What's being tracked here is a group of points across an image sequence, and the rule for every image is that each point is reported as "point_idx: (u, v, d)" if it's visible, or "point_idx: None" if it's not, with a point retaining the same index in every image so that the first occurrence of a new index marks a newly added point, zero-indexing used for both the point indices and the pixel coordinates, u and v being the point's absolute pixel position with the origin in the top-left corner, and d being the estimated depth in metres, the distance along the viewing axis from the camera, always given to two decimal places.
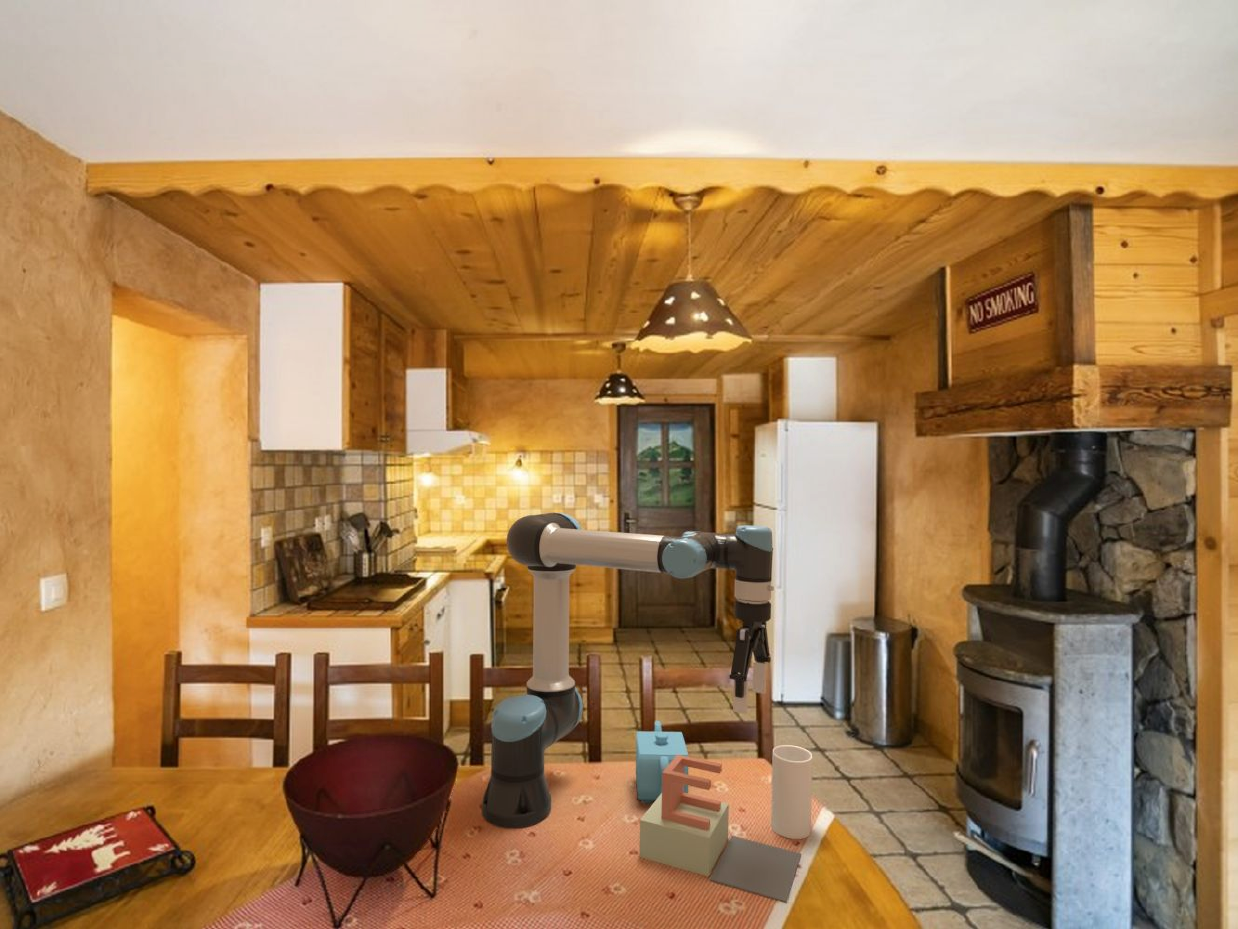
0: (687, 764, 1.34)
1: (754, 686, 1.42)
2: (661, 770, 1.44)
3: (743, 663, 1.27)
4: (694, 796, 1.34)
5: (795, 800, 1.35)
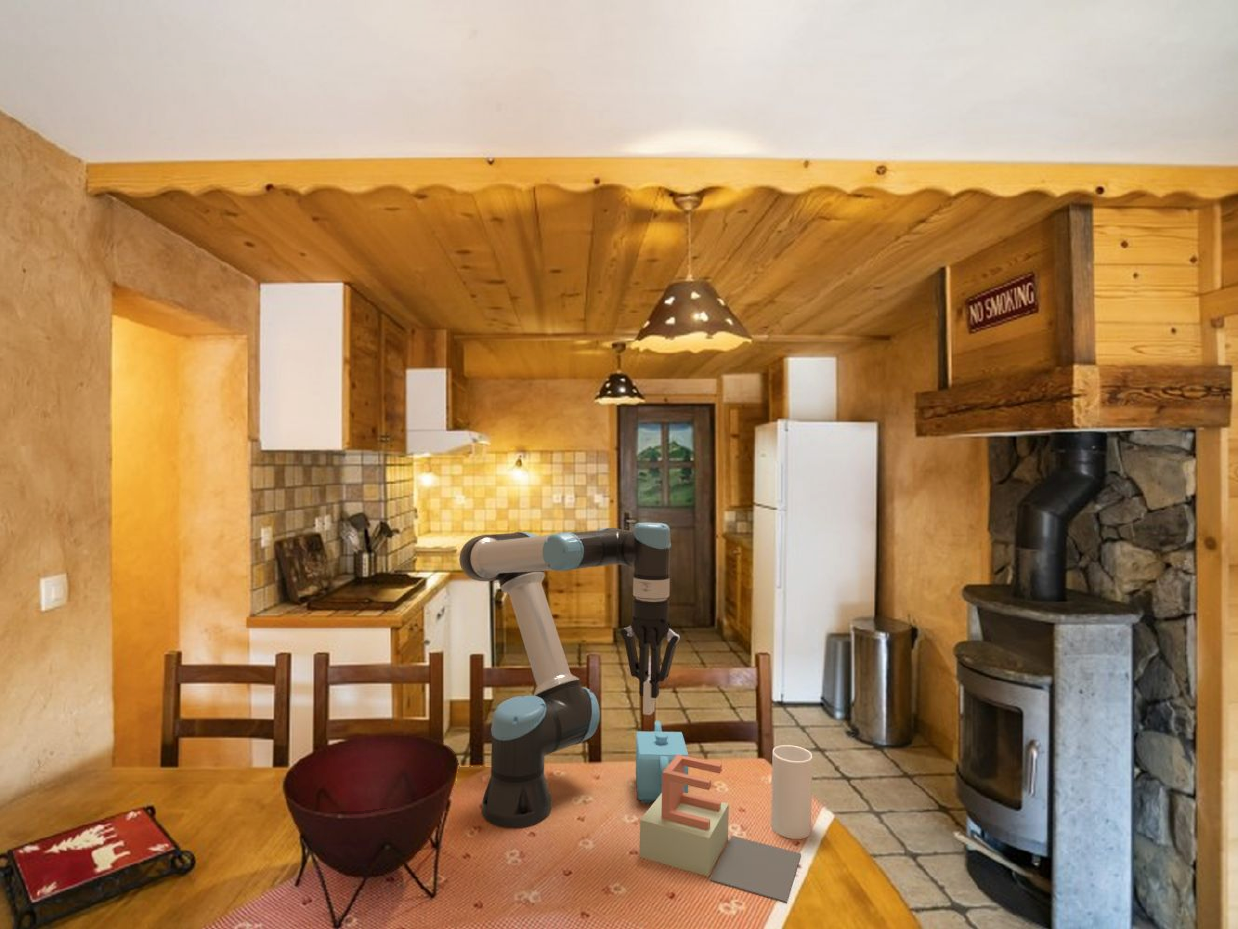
0: (687, 764, 1.34)
1: None
2: (661, 770, 1.44)
3: None
4: (694, 796, 1.34)
5: (795, 800, 1.35)
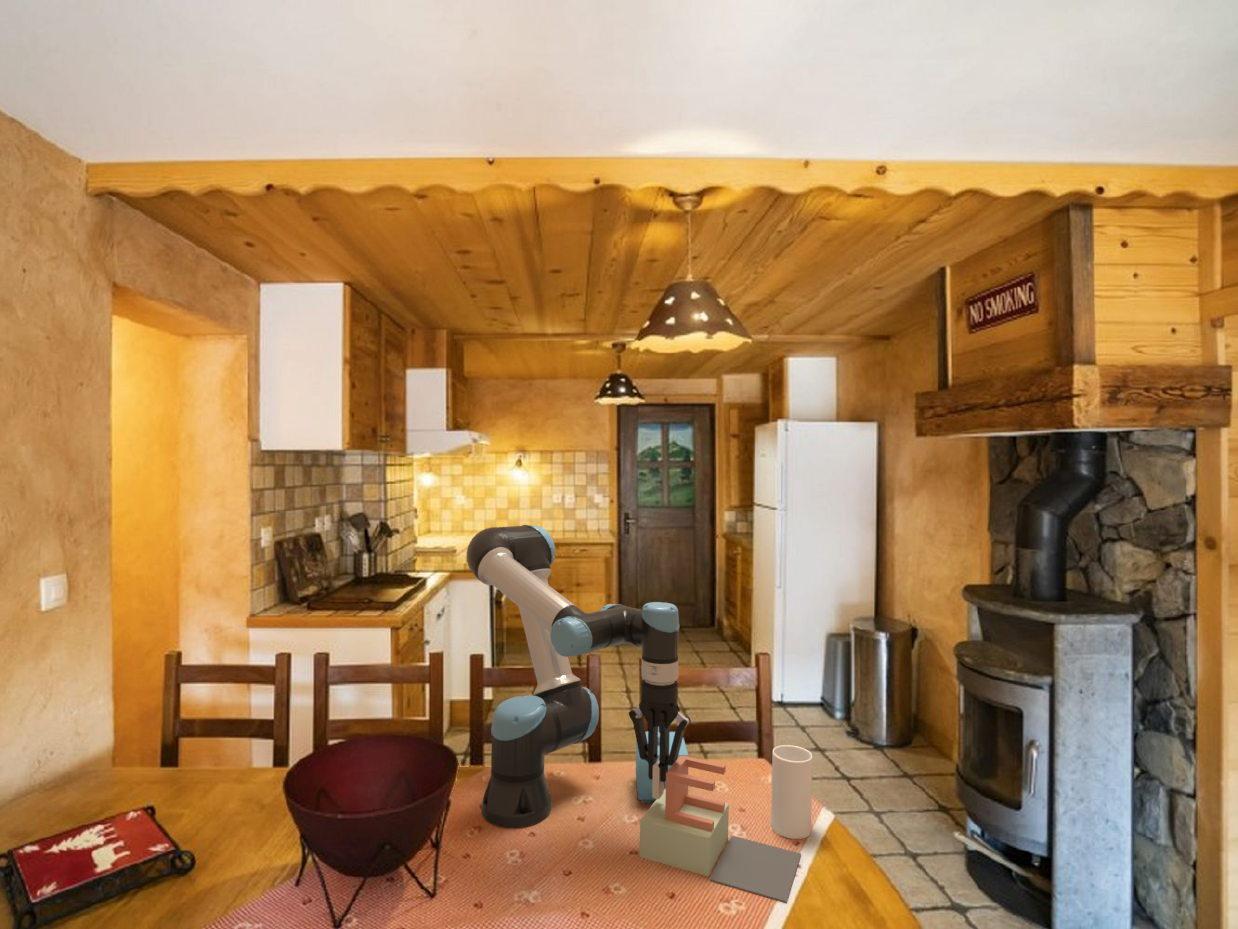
0: (691, 765, 1.34)
1: None
2: None
3: None
4: (698, 797, 1.34)
5: (795, 800, 1.35)
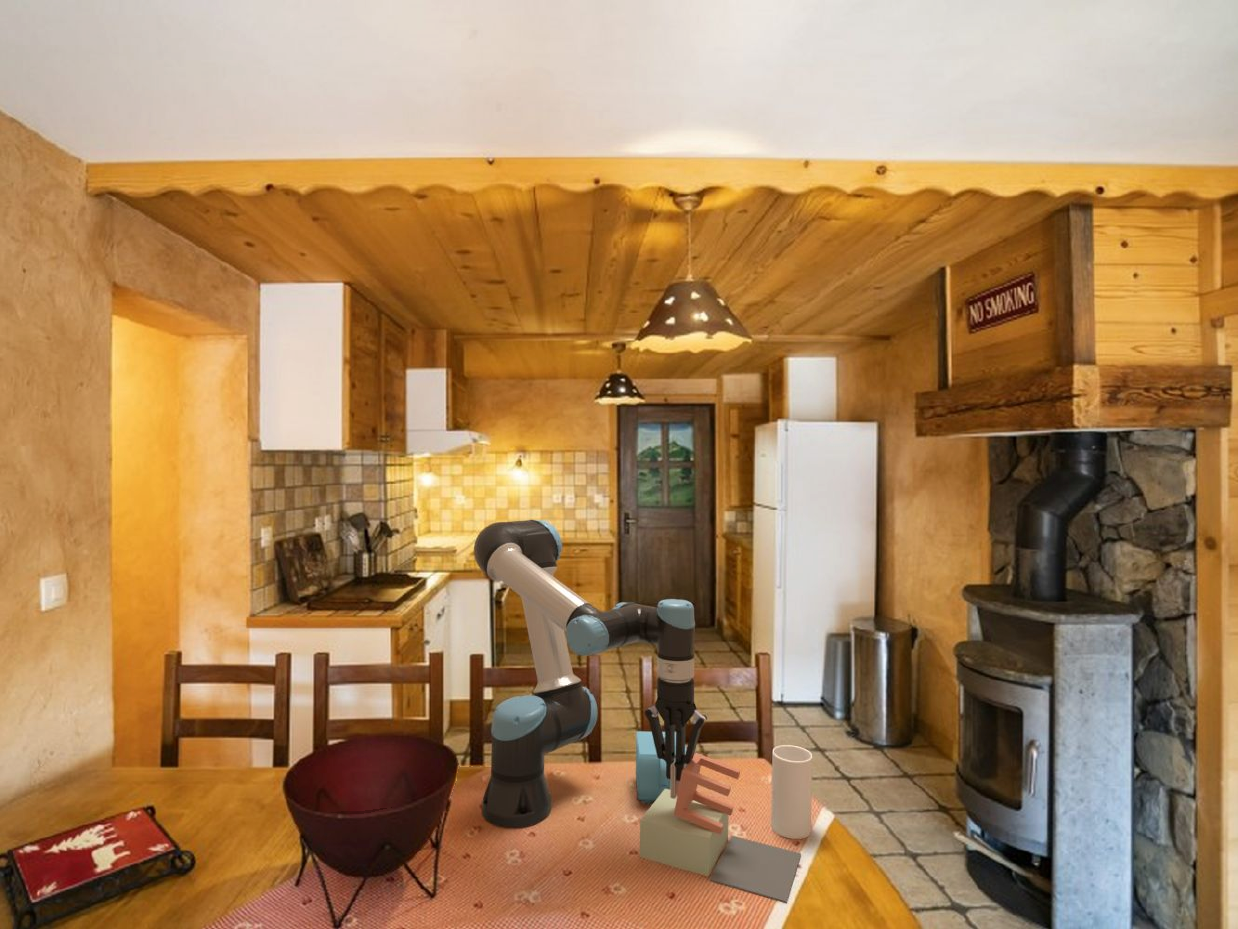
0: (705, 764, 1.32)
1: None
2: (661, 770, 1.44)
3: None
4: (707, 796, 1.33)
5: (795, 800, 1.35)
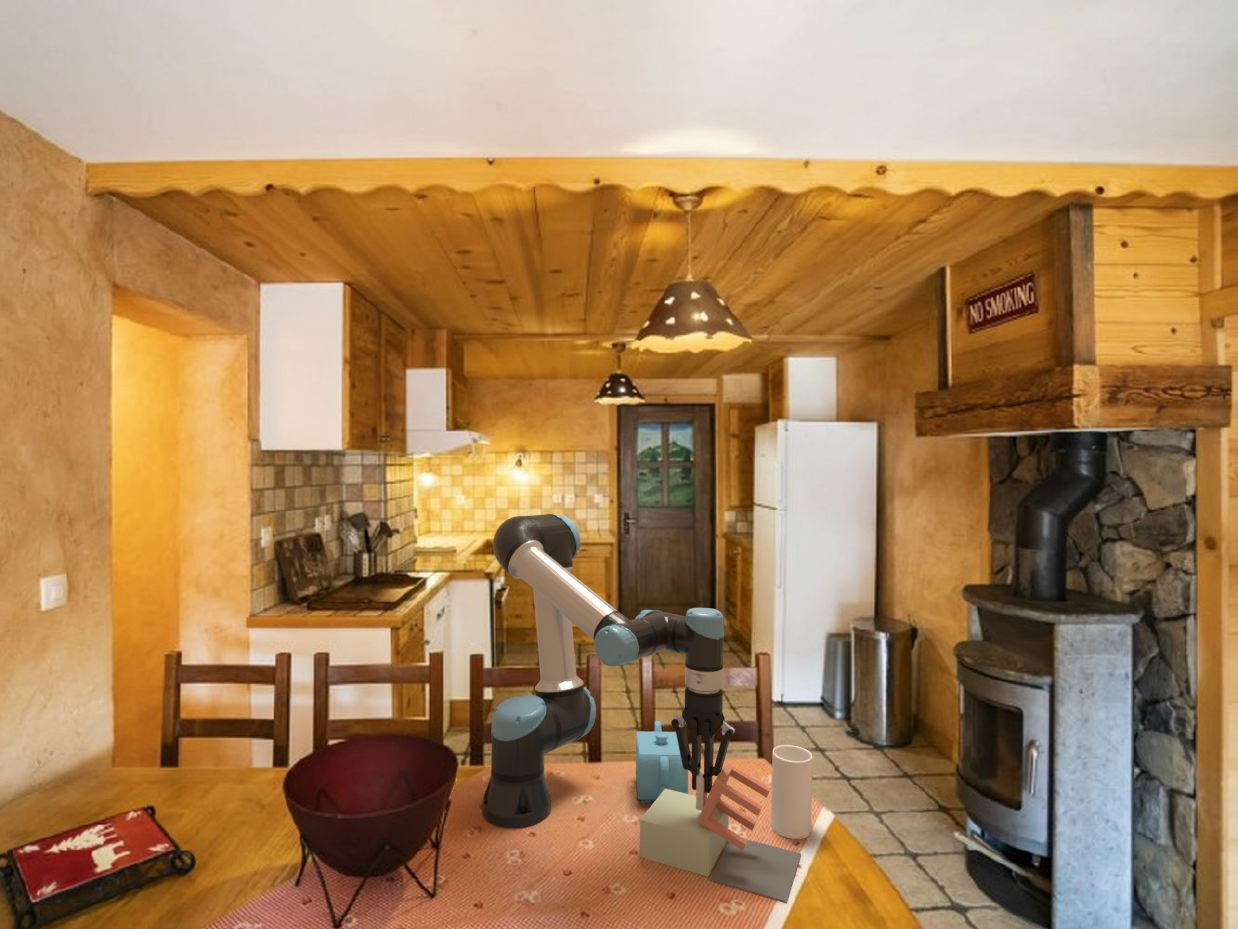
0: (735, 776, 1.30)
1: None
2: (661, 770, 1.44)
3: None
4: (730, 806, 1.31)
5: (795, 800, 1.35)
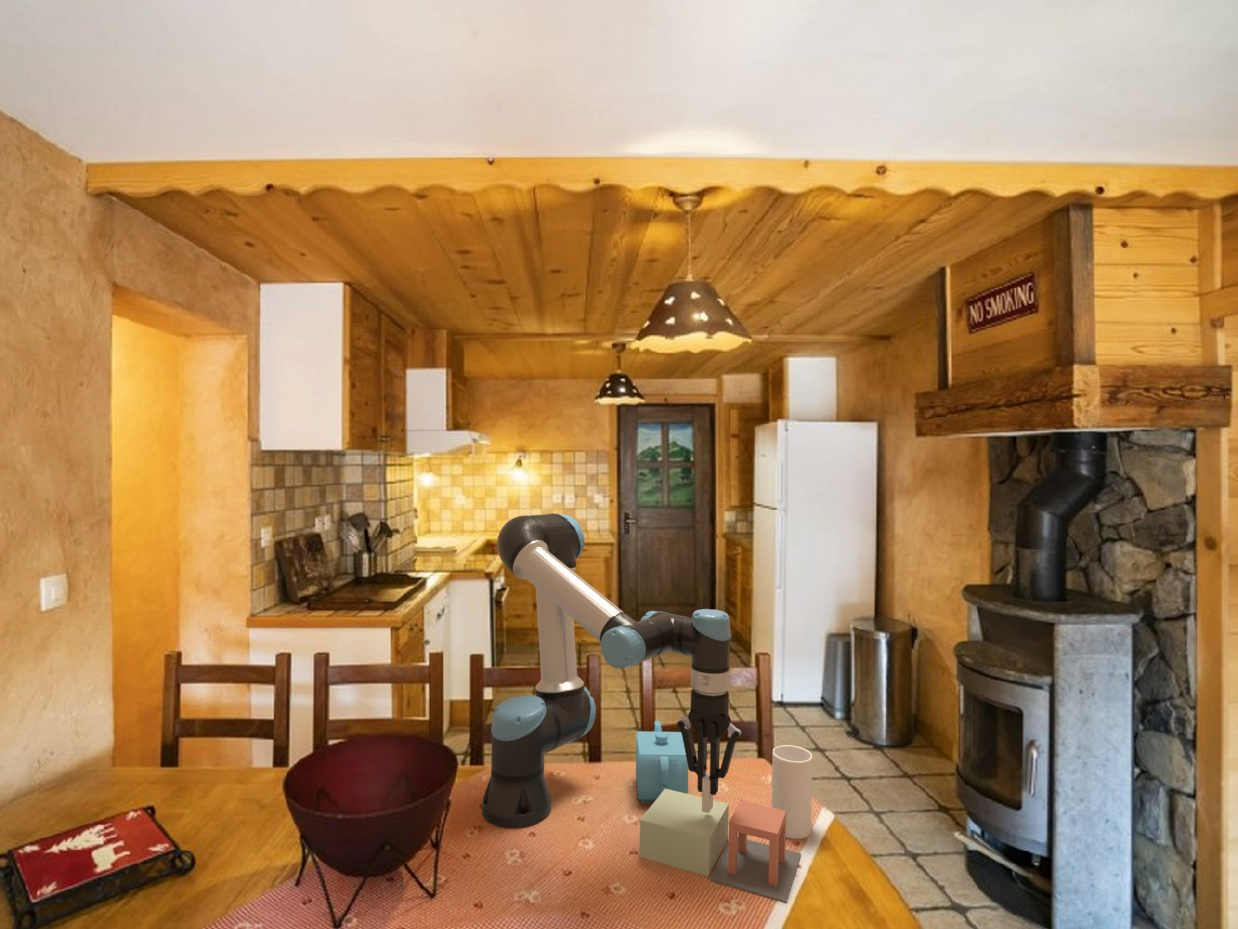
0: None
1: None
2: (661, 770, 1.44)
3: None
4: None
5: (795, 800, 1.35)
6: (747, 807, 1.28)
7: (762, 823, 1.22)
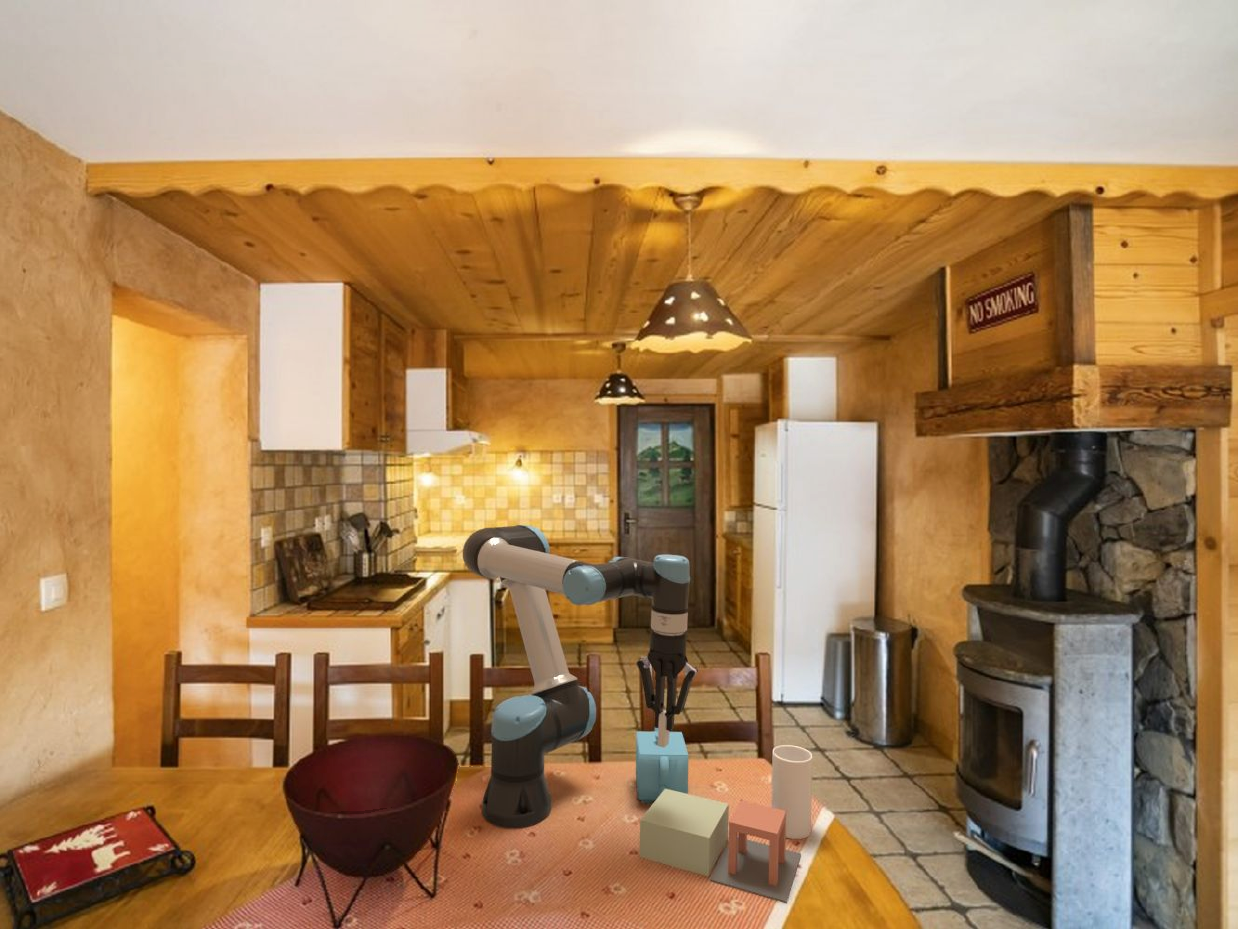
0: None
1: None
2: (661, 770, 1.44)
3: None
4: None
5: (795, 800, 1.35)
6: (747, 807, 1.28)
7: (762, 823, 1.22)
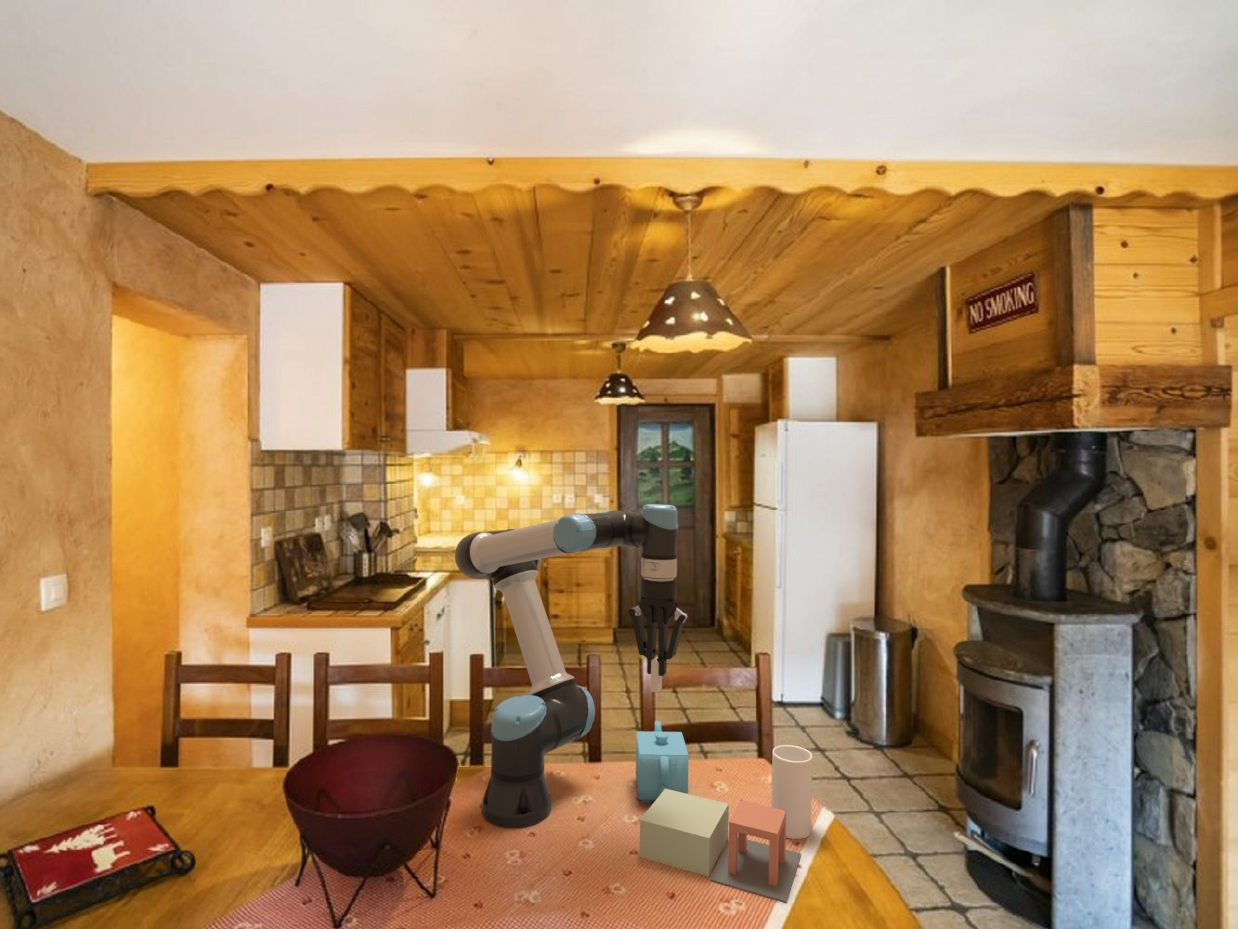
0: None
1: None
2: (661, 770, 1.44)
3: None
4: None
5: (795, 800, 1.35)
6: (747, 807, 1.28)
7: (762, 823, 1.22)
